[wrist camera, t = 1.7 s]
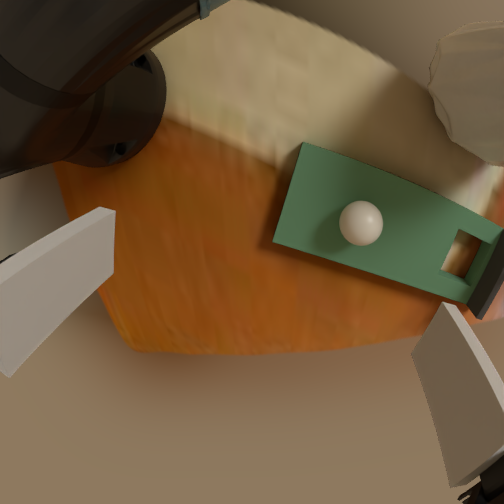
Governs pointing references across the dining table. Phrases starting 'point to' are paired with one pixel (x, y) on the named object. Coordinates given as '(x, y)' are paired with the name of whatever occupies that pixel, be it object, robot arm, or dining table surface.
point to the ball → (361, 223)
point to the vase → (471, 88)
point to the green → (389, 227)
